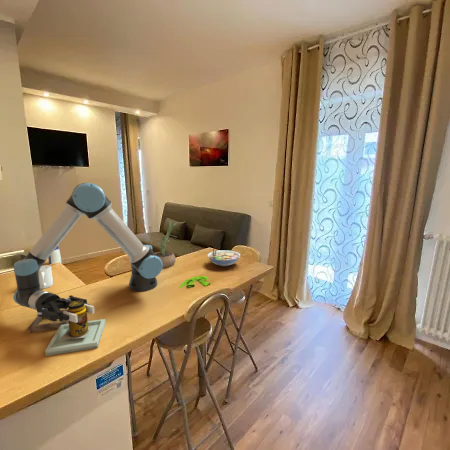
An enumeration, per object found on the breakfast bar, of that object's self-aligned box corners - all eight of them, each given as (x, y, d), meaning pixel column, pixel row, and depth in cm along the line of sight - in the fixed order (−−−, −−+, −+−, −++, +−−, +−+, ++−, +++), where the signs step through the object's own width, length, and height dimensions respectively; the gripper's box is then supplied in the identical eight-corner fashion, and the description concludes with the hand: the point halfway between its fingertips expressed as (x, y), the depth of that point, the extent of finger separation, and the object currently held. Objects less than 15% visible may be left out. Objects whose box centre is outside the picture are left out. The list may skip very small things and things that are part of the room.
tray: (105, 323, 106) (104, 318, 106) (97, 347, 91) (97, 342, 91) (61, 329, 102) (61, 324, 102) (46, 356, 87) (45, 350, 87)
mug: (34, 293, 135) (31, 273, 133) (34, 285, 145) (32, 267, 143) (53, 289, 140) (51, 270, 138) (52, 282, 150) (50, 264, 148)
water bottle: (44, 264, 181) (40, 229, 176) (56, 260, 189) (52, 227, 184) (52, 265, 178) (48, 230, 173) (64, 262, 185) (60, 228, 181)
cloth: (208, 275, 161) (208, 272, 160) (218, 290, 140) (218, 285, 140) (175, 279, 155) (175, 276, 154) (181, 295, 134) (181, 290, 134)
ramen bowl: (241, 271, 167) (241, 259, 165) (206, 271, 167) (205, 259, 166) (239, 259, 191) (239, 248, 190) (208, 259, 192) (208, 248, 190)
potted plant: (160, 271, 167) (158, 225, 162) (146, 265, 179) (143, 222, 174) (187, 262, 184) (186, 221, 178) (172, 257, 196) (171, 218, 190)
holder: (75, 313, 115) (74, 307, 115) (66, 327, 104) (66, 322, 103) (41, 317, 112) (40, 311, 111) (29, 333, 100) (28, 327, 100)
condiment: (86, 337, 93) (83, 306, 91) (60, 340, 92) (56, 309, 90) (92, 326, 100) (89, 297, 98) (68, 328, 99) (64, 299, 97)
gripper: (68, 300, 111) (107, 311, 102) (19, 322, 94) (60, 338, 85) (67, 284, 110) (106, 294, 101) (16, 303, 93) (57, 317, 84)
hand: (85, 314), depth 93 cm, fingers closed on condiment, 6 cm apart
